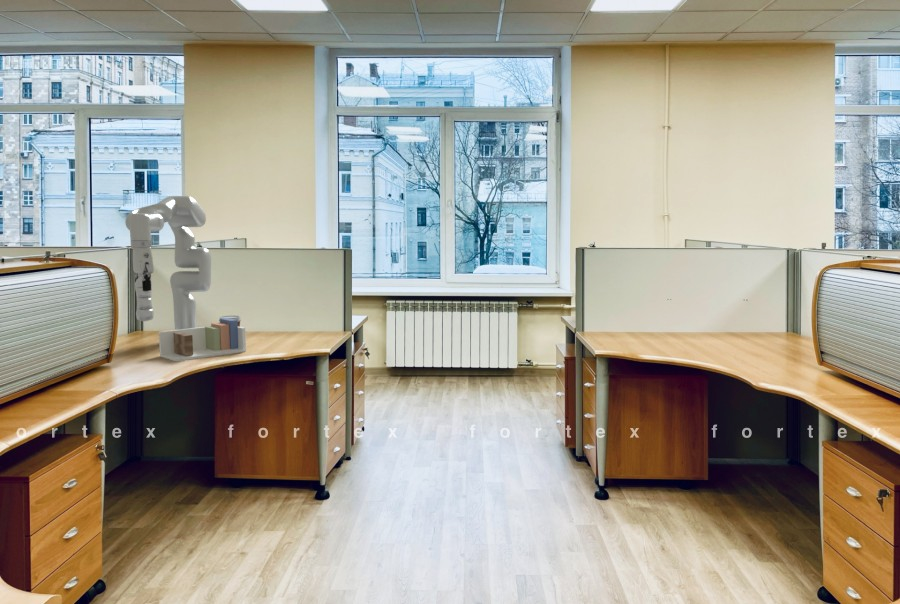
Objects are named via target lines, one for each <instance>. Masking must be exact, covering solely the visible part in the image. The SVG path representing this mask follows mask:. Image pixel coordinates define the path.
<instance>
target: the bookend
mask: <svg viewBox="0 0 900 604" xmlns="http://www.w3.org/2000/svg"><path fill="white" fill-rule="evenodd" d="M173 334H174V352H175V353H178V354H181V355H185V356H189V355H193V339H192V335H190V334H186V333H182V332H177V333H173Z"/></svg>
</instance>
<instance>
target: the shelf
mask: <svg viewBox="0 0 900 604" xmlns="http://www.w3.org/2000/svg"><path fill="white" fill-rule="evenodd" d="M219 320H220V321H219V322H212V323H210V325H209V326H202V327H197V328H190V329H181V330H175V329H173V330H163V331H158V344H159V357H160V358H163V359H167V360H170V361H173V362H182V361H187V360H188V361H190V360H195V359H202V358H209V357H210V358H211V357H216V356H223V355H232V354H239V353H245V352H247V349H246V348H247V347H246V346H247V345H246V344H247V343H246V341H247V340H246V327H243V326H240V327H238V322H237V320H234V319H229V318H221V319H220V318H219ZM177 332H182V333H186V334H190V335H192V339H193V355H189V356H185V355H181V354H178V353H175V352H174V334H173V333H177Z"/></svg>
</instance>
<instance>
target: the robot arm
mask: <svg viewBox="0 0 900 604" xmlns="http://www.w3.org/2000/svg"><path fill="white" fill-rule="evenodd" d="M206 221H207V217H206V213H205V211H204V209H203V208H202V206H201V205H200V204H199V202H198V201H197V200H196V199H195V198H193V197H191V196H190V195H172V196H167V197H164V198H163V199H161V200H160V201H159V202H157V203H154V204H151V205H147V206H143V207H139V208H136V209H133V210H132V211H130V212H129V213H128V214H127V215H126V218H125V226H126V229H128V231H129V234H130V237H129V238H130V240H129V241H130V249H131V250H132V270H133V272H134V279H135V282H136V280H137V279H138V273H139V274H142V277H143V281H142V287H143V291H150V290H151V283H152V274H154V260H153V253H152V235H151V234H152V232H160V231H161V230H162V229H163V228H164V225H165V223H167V224H168V226H169V227H170V229H171V230H172V232H173V235H174V264H175V266H176V267H177V268H181V269H198V270H197V271H195V270H193V271H192V270H179V271H175V272H173V273H171V276H170V278H169V283H170V288H171V293H172V301H173V318H174V319H173V321H174V322H173V323H174V324H173V325H174V330H181V329H190V328H198V327H197V325H198V324H197V309H196V308H197V307H196V305H197V304H196V299H195V297H194V296H193V295H192V293H205V292H208V291H209V290H210V287H211V280H212V277H211V276H212V255H211V252H210V250H209V249H208V248H205V247H195V246H196V244H195V243H196V242H195V241H196V240H195V239H196V238H195V235H194V234H193V232H192V230H190V228H201V227H203V226H204V225H205V224H206ZM144 272H147V273H144Z"/></svg>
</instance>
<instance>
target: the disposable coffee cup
mask: <svg viewBox="0 0 900 604" xmlns="http://www.w3.org/2000/svg"><path fill="white" fill-rule="evenodd" d="M221 318H229V319H234V320H237V322H238V327H241V321H242V318H241V315H223V316H219V320H218V321H219V322H220V319H221Z"/></svg>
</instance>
